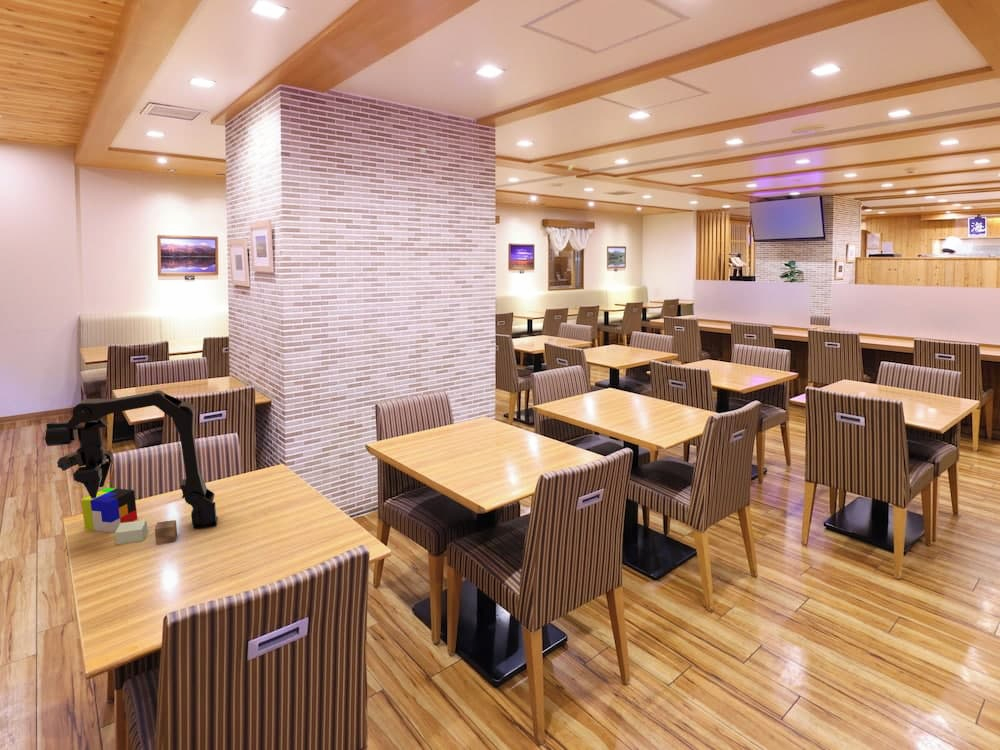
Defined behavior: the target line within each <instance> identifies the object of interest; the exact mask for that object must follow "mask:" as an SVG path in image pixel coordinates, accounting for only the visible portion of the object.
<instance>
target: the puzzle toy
mask: <svg viewBox="0 0 1000 750" xmlns="http://www.w3.org/2000/svg"><path fill="white" fill-rule="evenodd" d="M80 502H81V508H82V515H83V516H82V517H83V522H84V530H86V529H87V530H86V531H96V532H104V533H105V532H106V533H115V532H116V530H117V528H118V526H119V525H120V523H125V522H133V521H137V520H138V512H137V505H136V495H135V490H134V489H127V488H126V489H125V488H117V487H116V488H114V487H105V488H103V489H102V490H98V492H97V496H96V498H91V497H90V495H88V496H86V497H84V498H81V499H80Z"/></svg>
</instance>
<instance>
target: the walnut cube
mask: <svg viewBox="0 0 1000 750" xmlns="http://www.w3.org/2000/svg"><path fill="white" fill-rule="evenodd" d="M156 522H157V523H156V525H155V527H154V537H155V543H156V544H155V545H164V544H170V543H172V544H173V543H176V541H177V537H178V528H177V527H178V526H177V520H176V519H173V520H166V521H156Z"/></svg>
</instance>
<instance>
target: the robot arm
mask: <svg viewBox="0 0 1000 750" xmlns="http://www.w3.org/2000/svg"><path fill="white" fill-rule="evenodd" d="M147 407H156V408H158V409H159V410H160V411H162V412H163V413H164V414H166V415H167V416H169V417H171V418H172V421H173V424H174V426H175V429H176V431H177V432H178V435H179V438H180V446H181V451H182V453H181V454H182V460H183V465H184V471H185V479H183V478H182V481H181V484H180V489H181V492H182V497H181V499H184V501H185V503H186V504H187V505H190V506H191V508H192V510H191V514H190V515H191V523H192V526H193V529H203V528H210V527H216V526H217V524H218V516H217V509H216V502H215V501H214V499H215V494H216V493H214V492H213V491H212V490H210V489H208V488H207V484H206V482H205V479H204V477H203V475H202V473H201V472H200V471H201V470H200V465H199V458H198V451H197V446H196V445H197V444H196V439H195V438H196V437H195V421H196V420H195V419H196V408H195V406H194V404H192V403H191V402H189V401H183V400H180V398H177V397H174V396H172V395H169V394H167V393H166V392H164V391H162V390H159V389H157V390H154V391H151V392H144V393H140V394H138V393H137V394H133V395H127V396H120V397H115V398H85V399H83V400H81V401H80V402H78V403H77V404H76V405H75V406H74V407H73V409H72V417H71V418H70V419H69V420H68V421H60V422H59V421H58V422H55V421H50V422H48V423H46V424H45V426H46V429H45V436H44V440H45V444H46V445H47V447H56V446H67V445H73V444H74V441H78V443H79V447H78V448H77V449H76V451H73V452H71V453H68V454H66V455H64V456H62V457H59V458H58V460H57V461H56V464H57V468H58V469H61V471H62V472H63V471H66V470H68V469H70V468H73V467H75V466H77V465H78V468H77V469H76V470H75V471H74V473H72V477H73V482H76V483H81V484H83V485H84V487H85V489H86V490H87V493H88V494H89V495H88V496H90V497H91V498H96V496H97V492H99V489H100V488H104V486H105V484H106V480H107V477H108V475H109V471H110V469H111V466H112V464H113V460H114V453H113V452H112V451H110V450H104V448H105V446H106V443H105V441H103V435H102V428H106V427H107V426H109V422H108V421H106V420H105V419H103V418H104V417H106V416H109V415H110V414H114V413H115V414H116V413H120V412H121V413H122V412H125V411H132V410H137V409H142V408H143V409H144V408H147ZM97 419H98V420H97ZM82 423H85V424H82Z"/></svg>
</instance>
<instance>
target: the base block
mask: <svg viewBox="0 0 1000 750" xmlns="http://www.w3.org/2000/svg"><path fill="white" fill-rule="evenodd" d="M148 531H149V529H148V521H147V519H143V520H135V521H133V522H125V523H120V525H119V526H118V528H117V530H116V531H114V536H115V537H114V538H115V544H116V546H117V545H122V544H123V545H125V544H131V543H138V542H144V540H145V538H146V535H147V533H148Z"/></svg>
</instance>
